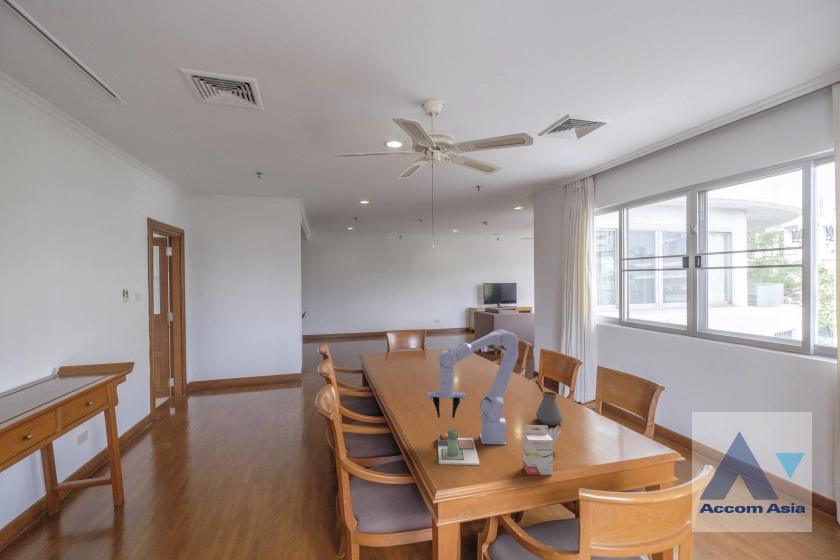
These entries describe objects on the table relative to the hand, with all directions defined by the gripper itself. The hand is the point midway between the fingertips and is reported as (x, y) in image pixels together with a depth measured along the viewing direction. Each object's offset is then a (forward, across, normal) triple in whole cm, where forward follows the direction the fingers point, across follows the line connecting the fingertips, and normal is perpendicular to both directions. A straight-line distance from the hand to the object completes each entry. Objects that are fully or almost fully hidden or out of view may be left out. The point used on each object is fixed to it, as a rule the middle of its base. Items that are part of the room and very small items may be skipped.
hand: (446, 416), depth 142 cm
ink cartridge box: (+11, +30, -19) cm, 37 cm away
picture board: (+10, +4, -6) cm, 13 cm away
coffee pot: (+11, +47, +29) cm, 56 cm away
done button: (+9, 0, 0) cm, 9 cm away
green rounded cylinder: (+10, +2, -10) cm, 14 cm away
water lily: (+11, +37, -4) cm, 39 cm away
